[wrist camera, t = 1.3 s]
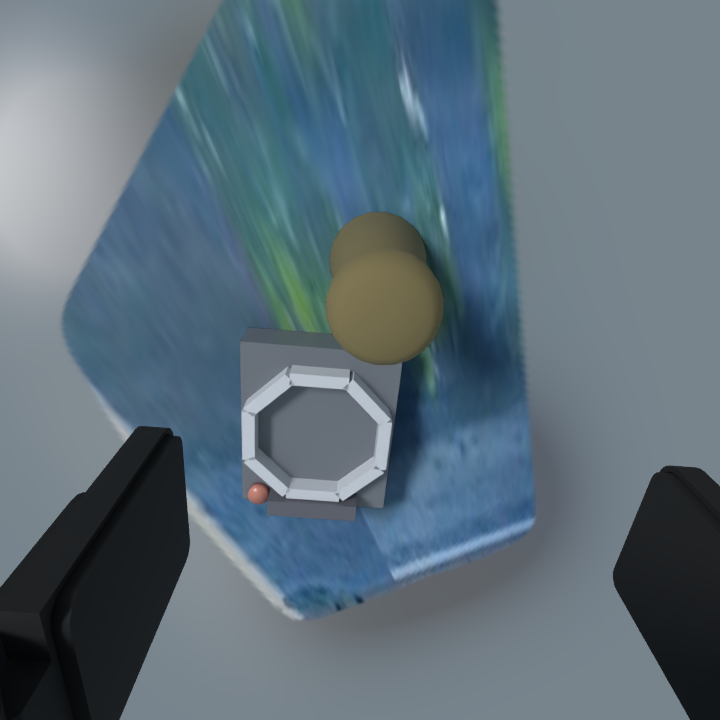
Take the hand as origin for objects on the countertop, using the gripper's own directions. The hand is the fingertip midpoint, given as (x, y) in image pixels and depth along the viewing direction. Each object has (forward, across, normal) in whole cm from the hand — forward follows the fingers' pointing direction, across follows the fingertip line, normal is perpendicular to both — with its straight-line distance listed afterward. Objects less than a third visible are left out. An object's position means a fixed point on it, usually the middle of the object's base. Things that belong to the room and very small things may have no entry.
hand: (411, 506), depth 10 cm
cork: (+22, 0, 0) cm, 22 cm away
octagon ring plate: (+22, +3, +11) cm, 25 cm away
